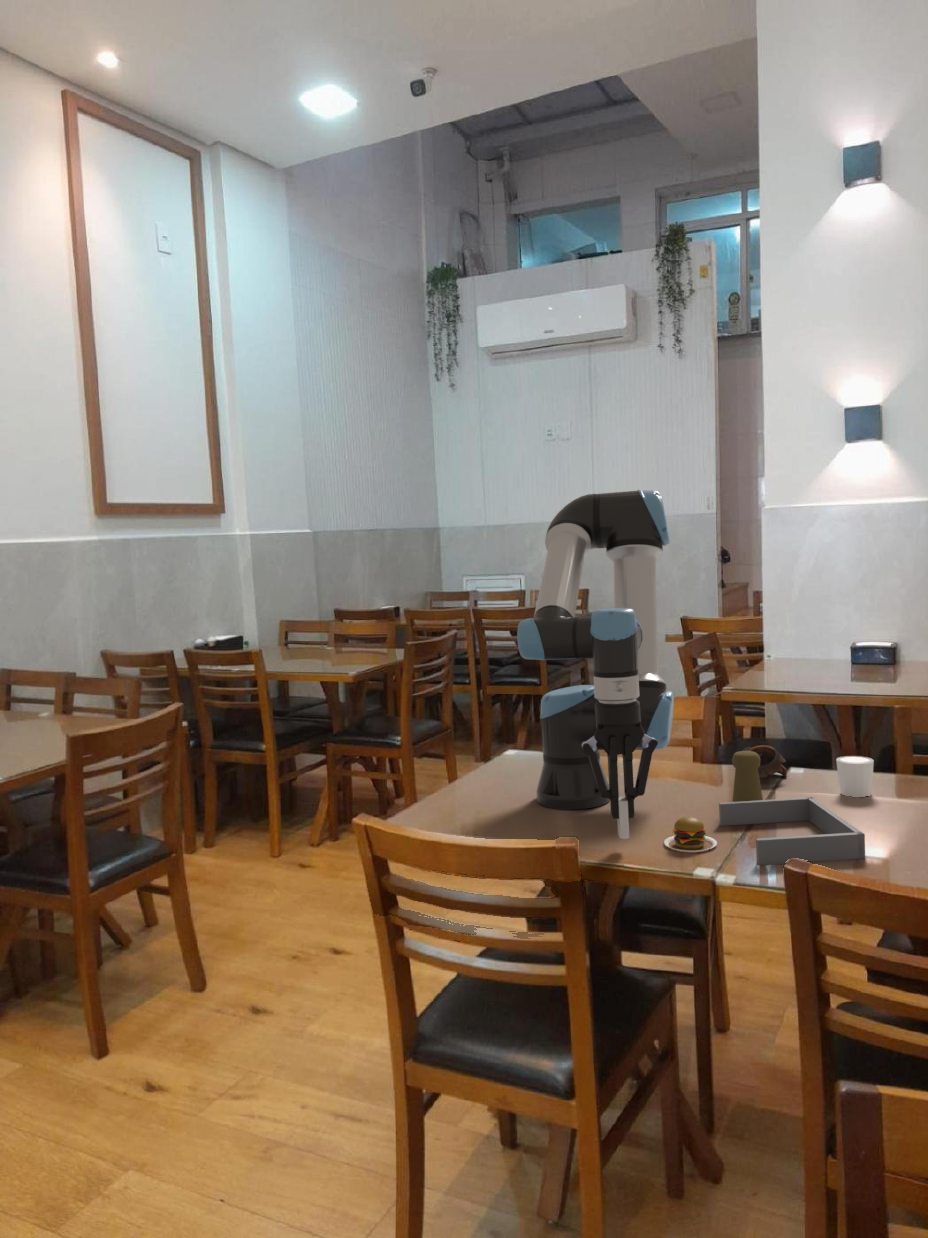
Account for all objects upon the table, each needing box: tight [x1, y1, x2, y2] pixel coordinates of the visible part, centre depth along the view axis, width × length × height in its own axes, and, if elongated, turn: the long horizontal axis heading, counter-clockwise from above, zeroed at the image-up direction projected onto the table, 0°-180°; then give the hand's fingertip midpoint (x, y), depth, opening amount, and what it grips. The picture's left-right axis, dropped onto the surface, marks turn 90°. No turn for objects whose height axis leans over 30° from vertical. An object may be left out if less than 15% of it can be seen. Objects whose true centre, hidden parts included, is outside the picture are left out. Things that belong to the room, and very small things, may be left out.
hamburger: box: [663, 816, 718, 853], centre depth 159 cm, size 12×12×6 cm
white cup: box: [835, 755, 875, 798], centre depth 183 cm, size 7×7×7 cm
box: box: [718, 796, 866, 866], centre depth 158 cm, size 22×17×4 cm
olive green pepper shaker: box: [731, 750, 764, 802], centre depth 178 cm, size 6×6×11 cm
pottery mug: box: [742, 744, 788, 779], centre depth 199 cm, size 12×10×8 cm
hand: (623, 836), depth 158 cm, fingers closed
